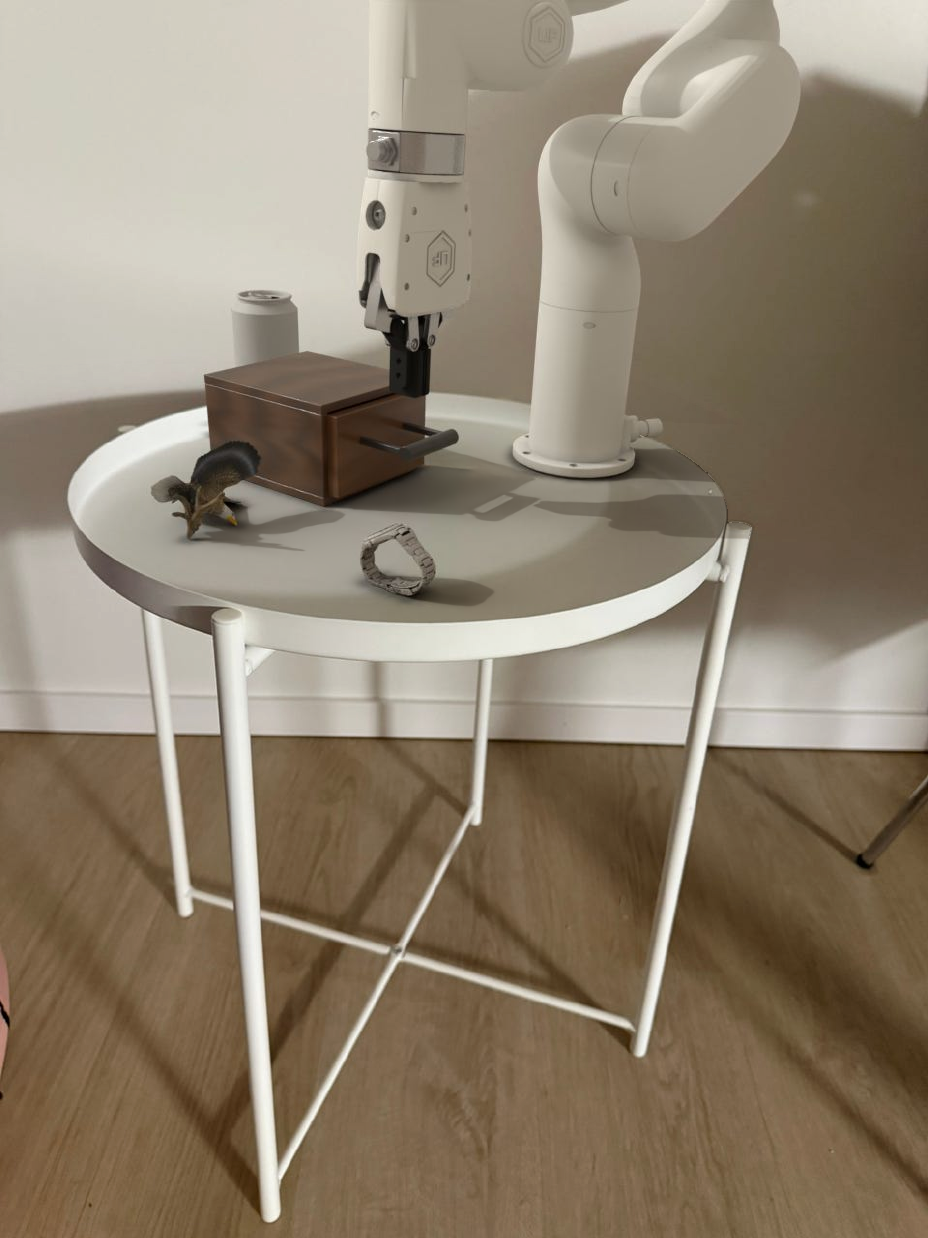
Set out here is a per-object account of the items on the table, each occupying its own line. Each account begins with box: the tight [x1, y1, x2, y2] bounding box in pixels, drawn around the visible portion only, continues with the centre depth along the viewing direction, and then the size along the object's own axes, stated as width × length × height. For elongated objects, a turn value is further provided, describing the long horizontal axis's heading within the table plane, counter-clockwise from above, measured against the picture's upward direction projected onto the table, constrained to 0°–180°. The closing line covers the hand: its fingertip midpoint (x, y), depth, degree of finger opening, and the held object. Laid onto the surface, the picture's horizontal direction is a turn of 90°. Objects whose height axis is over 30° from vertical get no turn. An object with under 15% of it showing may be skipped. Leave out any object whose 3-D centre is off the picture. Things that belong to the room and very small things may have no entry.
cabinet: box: [203, 350, 419, 507], centre depth 91 cm, size 15×14×9 cm
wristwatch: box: [359, 522, 436, 597], centre depth 70 cm, size 4×6×5 cm, turn 55°
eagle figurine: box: [150, 440, 261, 540], centre depth 79 cm, size 8×7×9 cm
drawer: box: [326, 393, 460, 498], centre depth 89 cm, size 19×12×7 cm, turn 54°
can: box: [230, 289, 300, 368], centre depth 112 cm, size 8×8×12 cm
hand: (409, 393), depth 83 cm, fingers closed
